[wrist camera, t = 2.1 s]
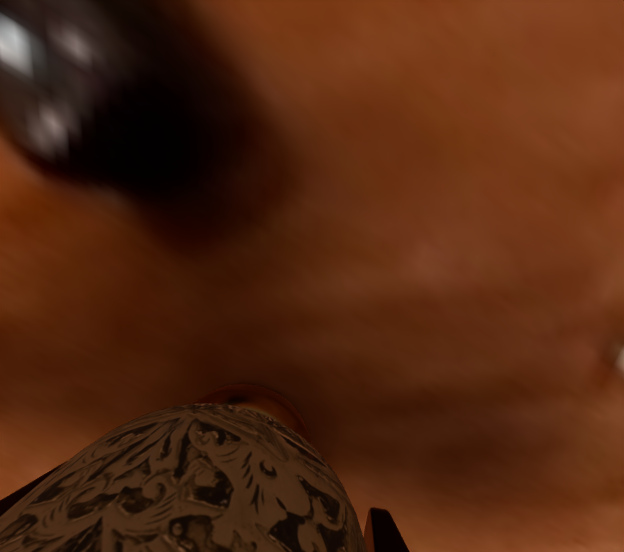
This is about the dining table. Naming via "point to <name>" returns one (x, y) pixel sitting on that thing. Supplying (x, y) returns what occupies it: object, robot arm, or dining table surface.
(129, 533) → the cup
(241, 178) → the dining table surface
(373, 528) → the robot arm
